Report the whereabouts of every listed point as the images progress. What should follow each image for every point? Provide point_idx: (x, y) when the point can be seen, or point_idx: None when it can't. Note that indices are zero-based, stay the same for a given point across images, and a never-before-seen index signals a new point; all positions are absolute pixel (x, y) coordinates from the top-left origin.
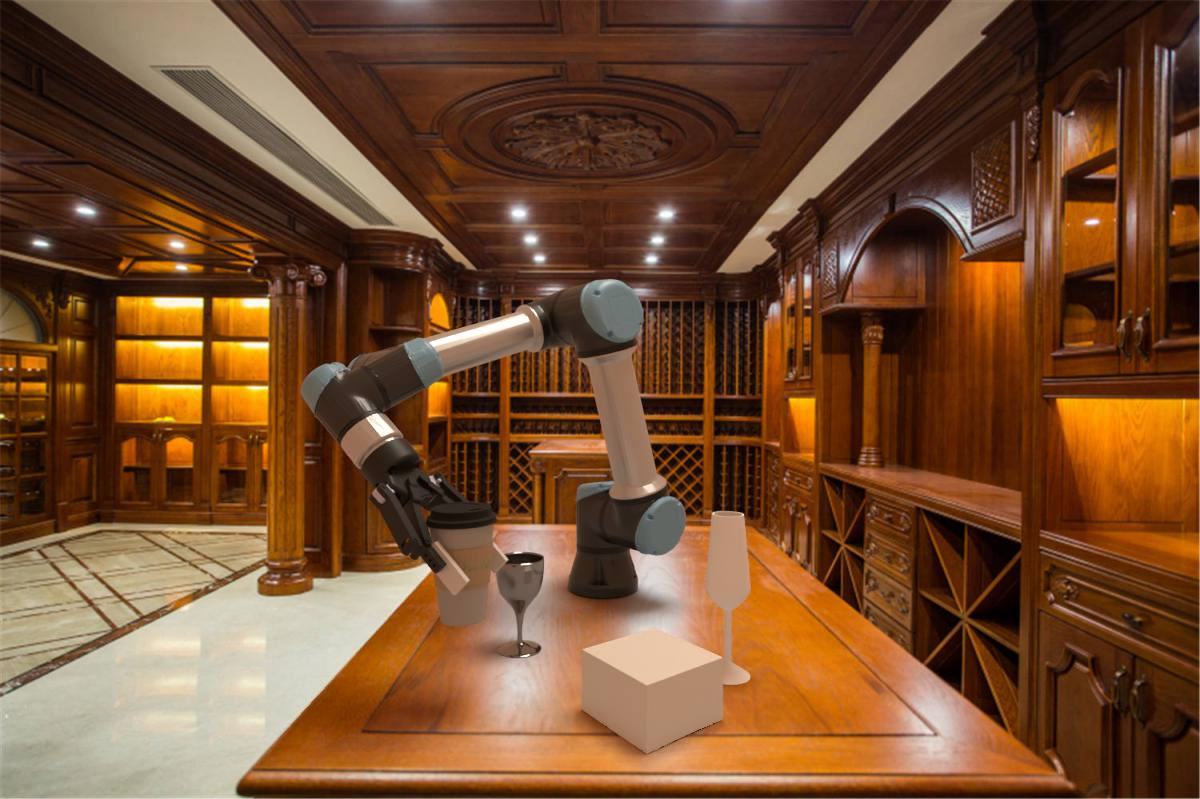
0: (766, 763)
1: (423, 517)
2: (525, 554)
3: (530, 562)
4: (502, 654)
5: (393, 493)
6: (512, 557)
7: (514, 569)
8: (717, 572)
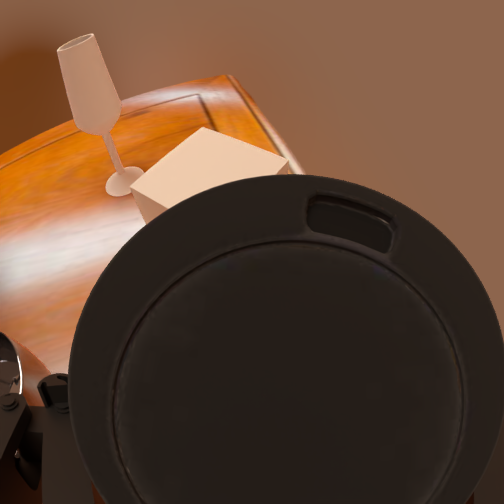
0: (262, 145)
1: (478, 500)
2: None
3: None
4: None
5: None
6: None
7: (28, 382)
8: (107, 95)
